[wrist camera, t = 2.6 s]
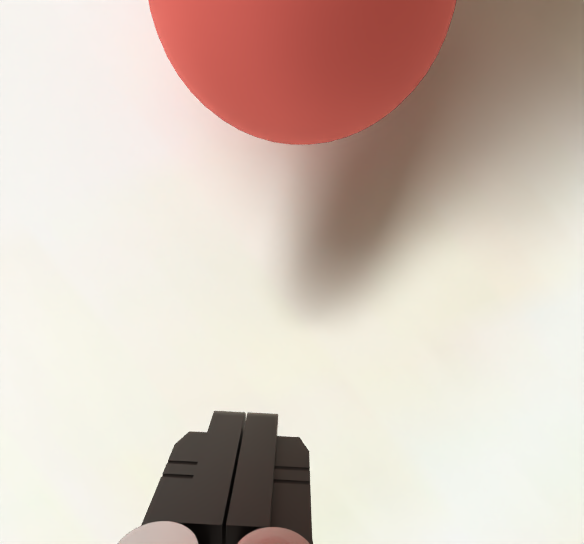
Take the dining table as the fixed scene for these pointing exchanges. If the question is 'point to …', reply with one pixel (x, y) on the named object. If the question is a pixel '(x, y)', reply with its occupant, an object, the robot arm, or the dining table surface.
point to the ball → (301, 60)
